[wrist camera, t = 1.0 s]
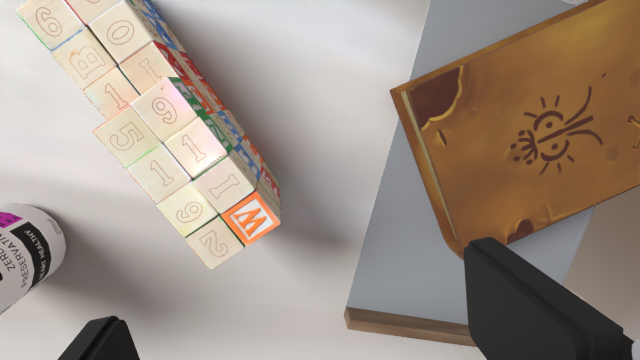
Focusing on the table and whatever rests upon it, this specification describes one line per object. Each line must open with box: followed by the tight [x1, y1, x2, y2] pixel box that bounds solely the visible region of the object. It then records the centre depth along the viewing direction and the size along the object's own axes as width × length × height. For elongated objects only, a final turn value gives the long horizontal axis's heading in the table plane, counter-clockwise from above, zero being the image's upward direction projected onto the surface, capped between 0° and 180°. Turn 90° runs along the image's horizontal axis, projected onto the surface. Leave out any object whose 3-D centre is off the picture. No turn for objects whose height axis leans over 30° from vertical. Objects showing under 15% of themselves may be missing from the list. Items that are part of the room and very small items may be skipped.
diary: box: [390, 0, 640, 261], centre depth 36 cm, size 23×19×6 cm
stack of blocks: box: [16, 0, 281, 270], centre depth 29 cm, size 21×6×12 cm, turn 33°
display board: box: [344, 0, 595, 347], centre depth 38 cm, size 38×26×3 cm
